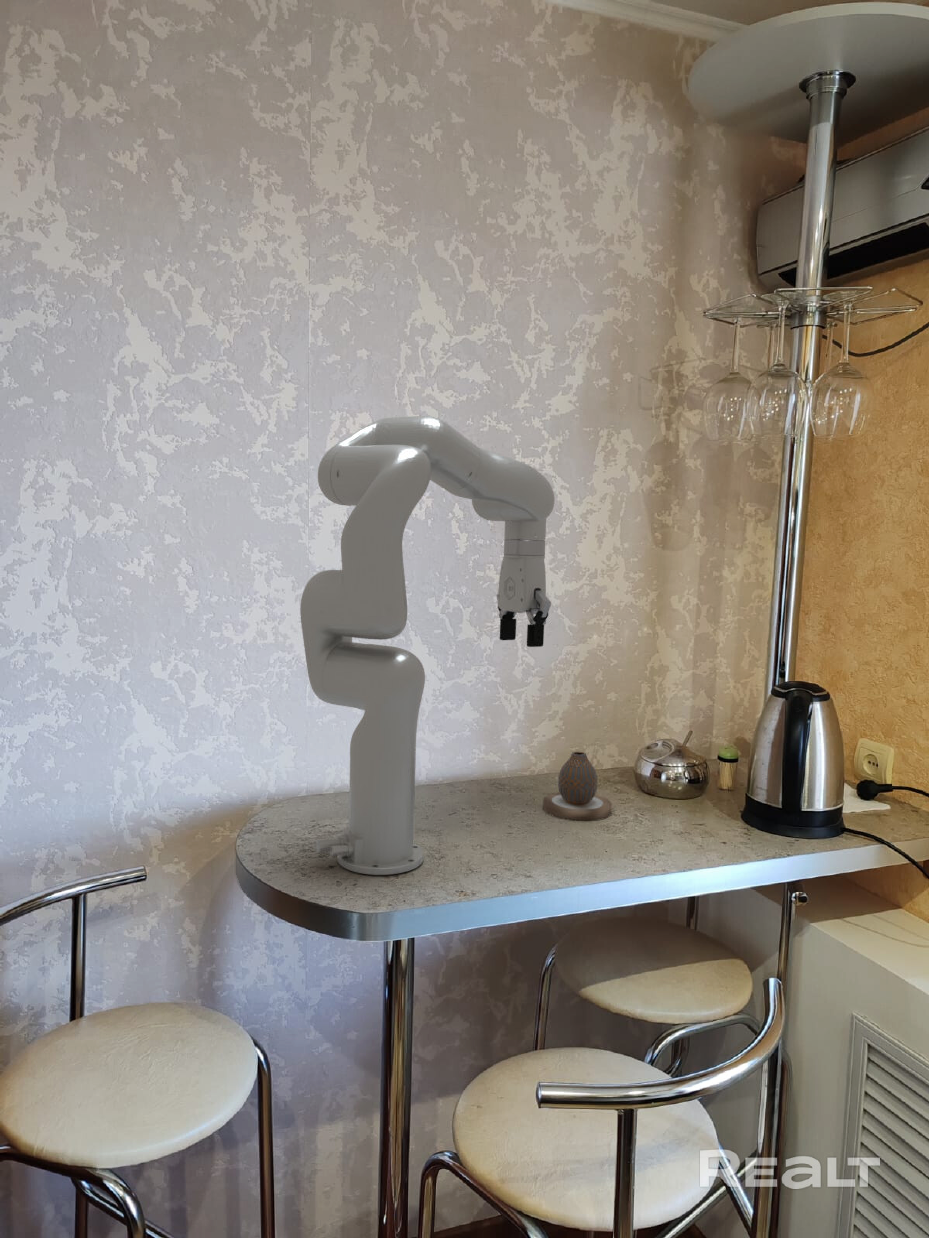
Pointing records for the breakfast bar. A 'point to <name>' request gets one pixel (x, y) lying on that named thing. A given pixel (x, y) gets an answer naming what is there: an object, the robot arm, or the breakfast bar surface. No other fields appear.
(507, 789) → the breakfast bar surface
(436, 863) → the breakfast bar surface
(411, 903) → the breakfast bar surface
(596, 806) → the stand
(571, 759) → the vase
